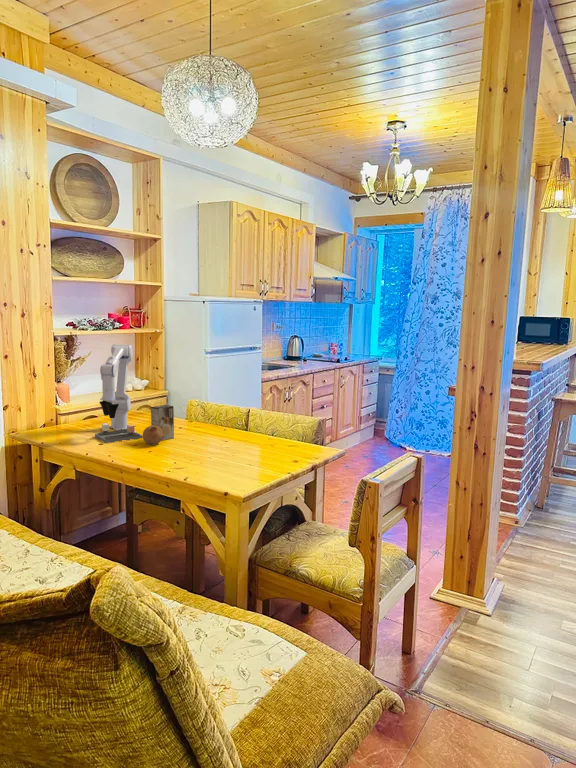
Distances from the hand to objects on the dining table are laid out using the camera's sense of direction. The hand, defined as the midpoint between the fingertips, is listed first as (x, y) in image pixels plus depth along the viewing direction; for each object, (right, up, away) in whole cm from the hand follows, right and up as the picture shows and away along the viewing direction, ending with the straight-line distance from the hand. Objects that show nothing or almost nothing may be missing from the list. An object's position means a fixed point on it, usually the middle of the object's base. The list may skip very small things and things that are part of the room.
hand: (109, 416), depth 260 cm
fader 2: (+11, -9, -2) cm, 14 cm away
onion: (+24, -12, -10) cm, 29 cm away
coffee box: (+26, -11, 0) cm, 28 cm away
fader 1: (-2, -8, 0) cm, 9 cm away
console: (+4, -10, 0) cm, 11 cm away
